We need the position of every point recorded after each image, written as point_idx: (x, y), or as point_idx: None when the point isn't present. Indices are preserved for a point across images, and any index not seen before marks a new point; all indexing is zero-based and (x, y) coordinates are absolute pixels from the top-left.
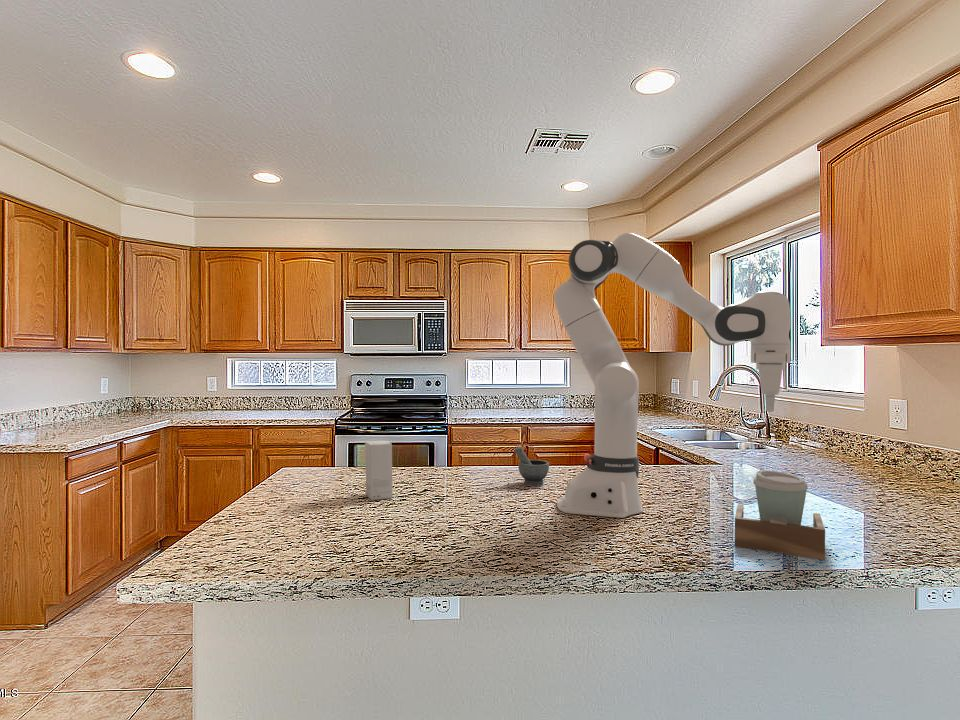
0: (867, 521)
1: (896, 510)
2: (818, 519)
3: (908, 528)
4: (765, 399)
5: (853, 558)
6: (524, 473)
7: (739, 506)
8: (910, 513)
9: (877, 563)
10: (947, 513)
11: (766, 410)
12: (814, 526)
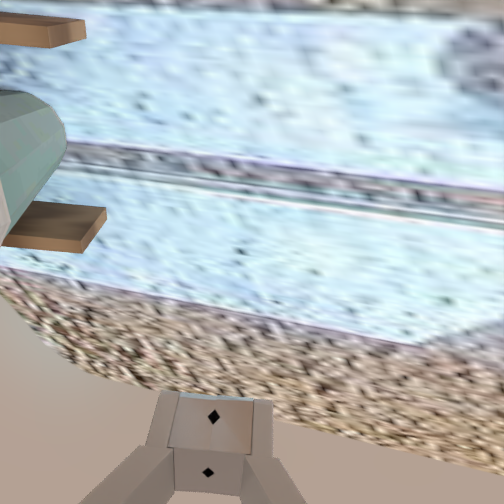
0: (334, 335)
1: (456, 401)
2: (15, 241)
3: (304, 382)
4: (86, 498)
5: (20, 256)
6: None
7: (12, 31)
8: (434, 414)
9: (18, 286)
10: (451, 459)
11: (159, 395)
12: (47, 224)
